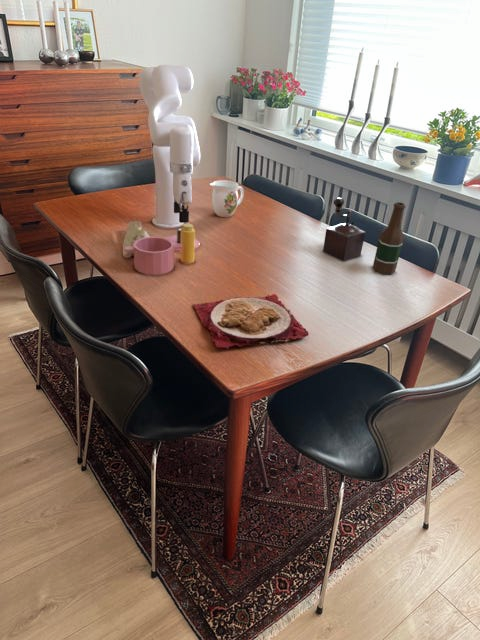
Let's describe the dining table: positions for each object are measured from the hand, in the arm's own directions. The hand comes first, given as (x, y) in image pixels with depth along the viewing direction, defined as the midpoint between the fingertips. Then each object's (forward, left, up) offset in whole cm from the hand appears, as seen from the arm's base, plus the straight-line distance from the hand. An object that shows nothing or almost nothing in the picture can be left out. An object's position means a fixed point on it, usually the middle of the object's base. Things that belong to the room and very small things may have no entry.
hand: (181, 217), depth 171 cm
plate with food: (+54, +8, -11) cm, 56 cm away
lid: (0, 0, -10) cm, 10 cm away
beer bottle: (+31, +65, -11) cm, 73 cm away
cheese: (+2, -17, -11) cm, 20 cm away
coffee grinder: (+13, +56, -11) cm, 59 cm away
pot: (+16, -12, -11) cm, 23 cm away
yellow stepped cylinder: (+14, -1, -11) cm, 17 cm away
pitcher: (-30, +25, -11) cm, 41 cm away
